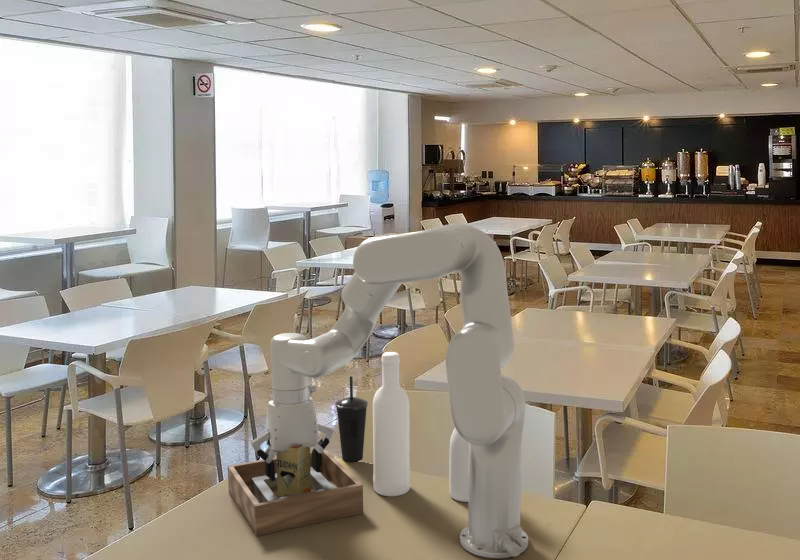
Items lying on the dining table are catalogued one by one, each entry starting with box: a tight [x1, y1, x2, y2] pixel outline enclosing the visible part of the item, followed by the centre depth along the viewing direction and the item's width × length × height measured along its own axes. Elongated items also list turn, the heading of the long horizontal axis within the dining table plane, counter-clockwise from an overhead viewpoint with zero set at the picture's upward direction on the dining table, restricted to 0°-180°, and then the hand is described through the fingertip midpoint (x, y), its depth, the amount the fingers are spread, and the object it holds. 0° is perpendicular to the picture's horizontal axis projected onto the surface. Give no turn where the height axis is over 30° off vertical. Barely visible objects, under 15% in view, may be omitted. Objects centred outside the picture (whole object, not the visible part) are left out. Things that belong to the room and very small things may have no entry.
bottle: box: [372, 351, 411, 497], centre depth 168 cm, size 8×8×30 cm
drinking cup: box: [335, 376, 369, 463], centre depth 187 cm, size 8×8×20 cm
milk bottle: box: [448, 427, 469, 503], centre depth 166 cm, size 8×8×20 cm
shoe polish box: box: [275, 445, 311, 498], centre depth 163 cm, size 5×5×12 cm
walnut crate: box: [227, 448, 364, 537], centre depth 164 cm, size 22×22×6 cm
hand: (294, 474), depth 164 cm, fingers open, 9 cm apart
